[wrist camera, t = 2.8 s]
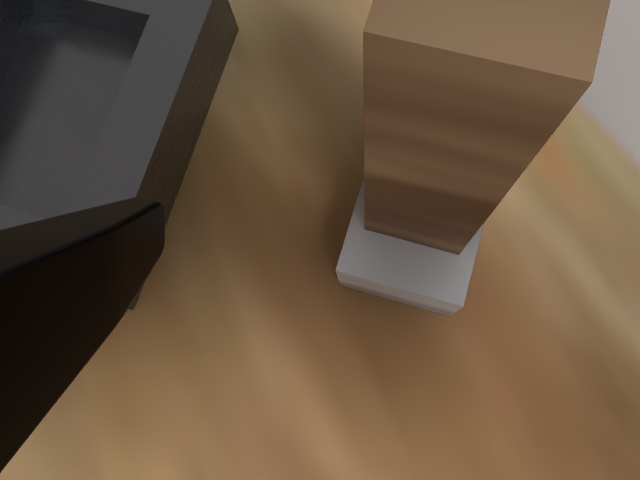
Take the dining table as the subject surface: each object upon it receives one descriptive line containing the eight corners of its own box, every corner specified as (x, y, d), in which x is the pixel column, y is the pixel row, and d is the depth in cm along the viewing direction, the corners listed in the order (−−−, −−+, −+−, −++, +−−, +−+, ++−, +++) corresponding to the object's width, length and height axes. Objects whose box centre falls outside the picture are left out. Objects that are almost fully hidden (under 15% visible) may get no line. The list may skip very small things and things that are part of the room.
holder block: (133, 310, 21) (96, 298, 18) (-98, 237, 22) (-168, 216, 19) (238, 29, 23) (220, -21, 20) (24, -21, 25) (-22, -74, 22)
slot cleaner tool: (449, 316, 20) (610, 201, 7) (339, 285, 20) (293, 122, 7) (488, 161, 21) (690, -189, 8) (384, 136, 22) (413, -232, 9)
